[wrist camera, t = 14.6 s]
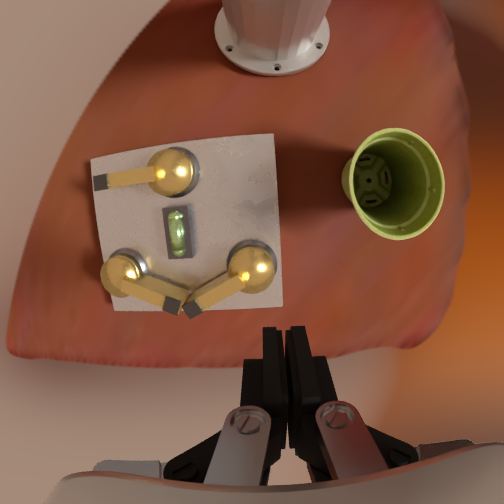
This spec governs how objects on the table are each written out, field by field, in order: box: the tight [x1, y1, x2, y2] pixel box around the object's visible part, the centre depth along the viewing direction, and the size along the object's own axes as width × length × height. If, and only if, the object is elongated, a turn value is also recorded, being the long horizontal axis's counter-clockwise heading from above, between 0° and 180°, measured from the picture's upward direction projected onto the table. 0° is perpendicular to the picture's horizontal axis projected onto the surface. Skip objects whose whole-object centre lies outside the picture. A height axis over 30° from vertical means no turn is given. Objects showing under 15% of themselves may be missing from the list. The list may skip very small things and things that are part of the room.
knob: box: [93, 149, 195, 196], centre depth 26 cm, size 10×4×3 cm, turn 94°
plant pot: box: [342, 128, 445, 240], centre depth 26 cm, size 9×9×9 cm
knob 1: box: [100, 253, 189, 315], centre depth 29 cm, size 10×4×3 cm, turn 70°
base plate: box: [91, 133, 283, 311], centre depth 29 cm, size 18×20×4 cm
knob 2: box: [182, 245, 275, 319], centre depth 29 cm, size 10×4×3 cm, turn 121°
